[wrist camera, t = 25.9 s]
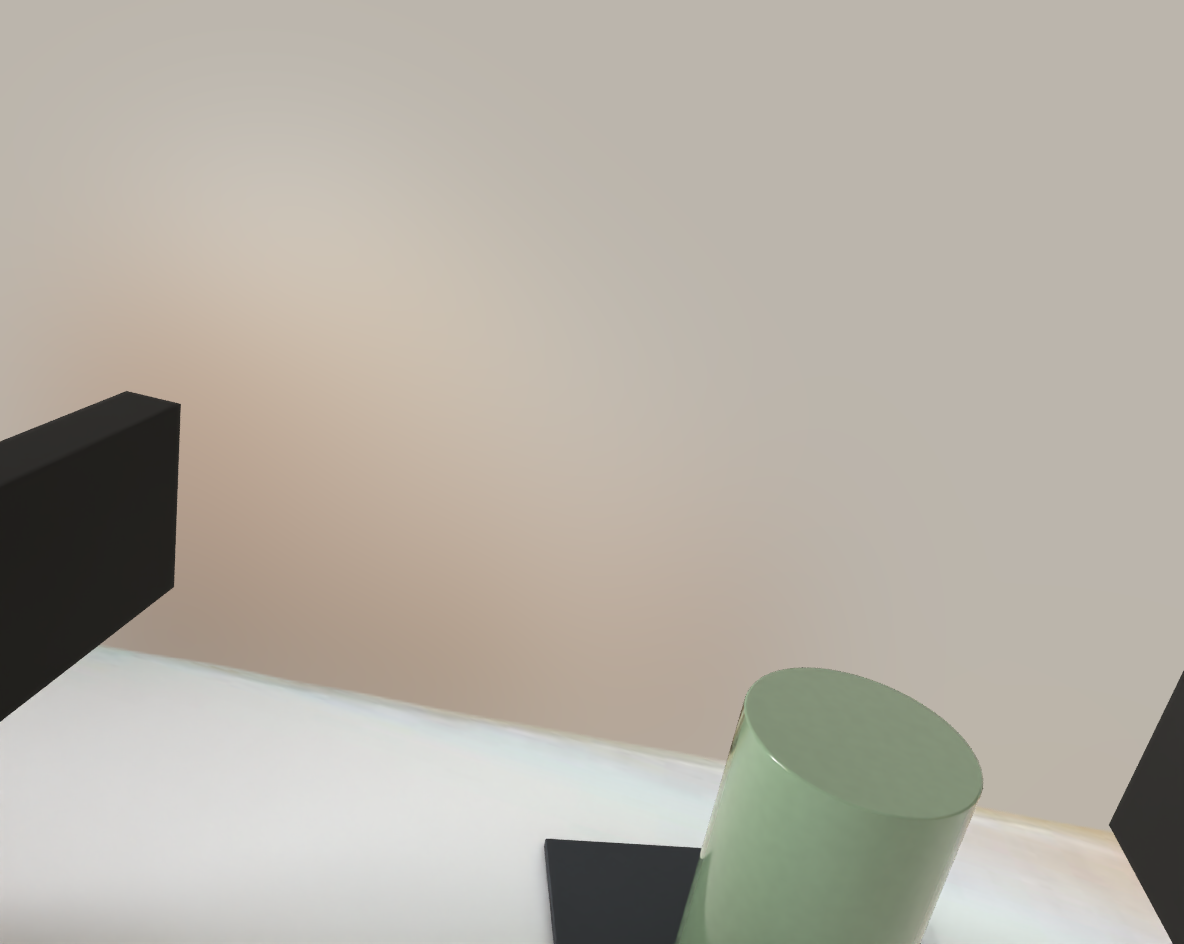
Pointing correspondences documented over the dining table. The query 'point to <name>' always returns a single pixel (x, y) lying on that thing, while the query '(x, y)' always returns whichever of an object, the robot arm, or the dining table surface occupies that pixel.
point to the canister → (831, 816)
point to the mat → (617, 891)
